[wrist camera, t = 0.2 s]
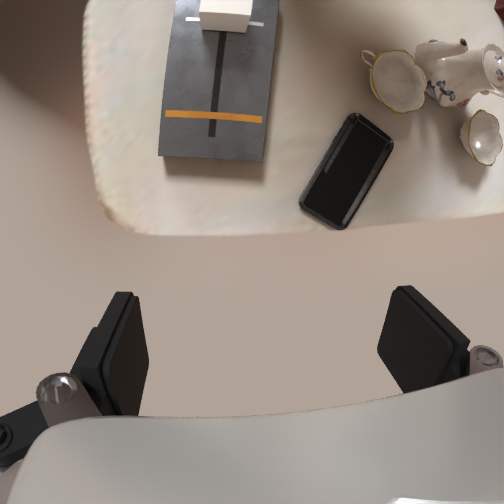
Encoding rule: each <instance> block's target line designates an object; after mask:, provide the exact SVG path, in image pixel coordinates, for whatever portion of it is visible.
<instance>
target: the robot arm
mask: <svg viewBox="0 0 504 504" xmlns="http://www.w3.org/2000/svg"><path fill="white" fill-rule="evenodd" d="M469 343H470V340H469V339H468V338H467V337H466V336H465V335H464V334H463V333H462V332H461V331H460V330H459V329H458V328H457V327H456V326H455V325H454V324H453V323H452V322H451V321H450V320H449V319H447V318H446V317H445V316H444V315H443V314H442V313H441V312H440V311H439V310H438V309H437V308H436V307H435V306H434V305H432V303H430V302H429V301H428V300H427V299H426V298H425V297H424V296H423V295H422V294H421V293H420V292H418V291H417V290H416V289H415V288H414V287H413V286H411V285H408V286H398V287H397V288H396V289H395V290H394V291H393V292H392V296H391V299H390V303H389V307H388V311H387V314H386V318H385V322H384V325H383V329H382V332H381V336H380V339H379V343H378V346H377V351H378V354H379V356H380V358H381V359H382V361H383V362H384V364H385V365H386V367H387V368H388V370H389V371H390V373H391V374H392V376H393V378H394V379H395V380H396V382H397V384H398V385H399V387H400V388H401V390H402V391H403V393H404V394H399V395H395V396H390V397H386V398H381V399H376V400H371V401H366V402H360V403H355V404H349V405H343V406H337V407H330V408H323V409H315V410H307V411H299V412H290V413H279V414H268V415H253V416H234V417H153V416H138V414H139V409H140V404H141V399H142V394H143V390H144V385H145V380H146V376H147V371H148V366H149V357H148V352H147V346H146V340H145V334H144V329H143V322H142V316H141V310H140V303H139V298H138V296H134V295H133V293H132V292H116V293H115V295H114V296H113V299H112V300H111V302H110V304H109V306H108V308H107V310H106V311H105V313H104V315H103V317H102V319H101V321H100V323H99V325H98V327H94V328H93V329H92V330H91V332H90V334H89V335H88V337H87V339H86V341H85V343H84V345H83V347H82V349H81V351H80V353H79V355H78V357H77V359H76V361H75V363H74V365H73V367H72V369H71V371H70V373H56V374H51V375H49V376H48V377H46V378H44V379H43V380H42V381H41V382H40V383H39V385H38V386H37V389H36V397H37V401H35V402H33V403H31V404H29V405H26V406H24V407H22V408H20V409H17V410H15V411H13V412H11V413H8V414H6V415H4V416H2V417H0V504H504V367H503V360H502V358H501V356H500V355H499V354H498V353H497V352H496V351H495V350H494V349H492V348H490V347H487V346H483V345H477V346H474V347H473V348H472V349H471V350H470V352H469V351H468V350H467V348H468V346H469Z"/></svg>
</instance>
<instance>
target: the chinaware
mask: <svg viewBox="0 0 504 504" xmlns="http://www.w3.org/2000/svg"><path fill="white" fill-rule="evenodd" d="M363 53H367V54H370V55H372V56H373V58H372V59H373V60H374V59H375V60H374V63H373V65H372V64H371V63H370V62H368V61H367V60H366V59H365V57H364V56H363ZM360 56H361V58H362V60H363V61H364V62H365V63H367V64H368V65H369V66H371V69H369V72H370V85H371V89H372V91H373V93H374V94H375V96H376V97H377V98H378V99H379V100H380V101H381V102H382V103H384V104H385V105H386V106H387V107H388V108H389V109H390V110H392V111H393V112H394V113H396V114H404V113H407V112H408V111H409V112H412V111H417V110H419V109H421V108H422V107H423V105H424V102H425V94H424V93H423V92H426V93H427V94H428V95H429V96H430V97H432V98H433V99H435V100H437V101H438V103H439V104H440V105H442V106H444V107H449V106H458V107H464V106H466V105H467V104H468V103H469V101H470V100H471V98H472V97H473V96H474V95H475V94H477V93H479V92H480V93H481V94H483V95H488V94H489V92H491V93H493V94H495V95H497V96H500V97H504V52H503V51H502V50H501V48H500V47H499V46H496V45H495V44H487V45H486V46H485V47H484V48H482V49H479V50H468V45H467V42H466V41H465V40H464V39H460V43H459V44H454V43H452V42H441V41H437V40H430V41H429V42H428V43H423V44H419V45H418V46H417V47H416V52H415V61H416V64H415V61H414V59H413V58H412V56H411V55H410V54H408V53H407V52H406V51H403V50H402V51H401V50H394V51H390V52H389V51H386V52H382V53H379V54H377V55H375V54H374V53H373V52H371V51H369V50H363V51H362V52H361V53H360ZM498 132H499V123H498V120H497V118H496V117H495V116H493V115H492V114H489V113H487V112H486V111H485V110H481V109H480V110H478V111H477V112H476V113H475V114H474V116H471V117H469V118H468V119H467V120H466V121H465V122H464V124H463V126H462V127H460V134H459V138H460V139H461V141H462V143H463V146H464V147H465V149H466V150H467V152H468V153H469V154H470V155H472V157H473V158H474V160H476V161H477V162H479V163H482V164H484V165H487V166H492V165H493V163H494V162H495V159H496V156H497V155H498V154H499V153H500V152H501V149H502V146H503V144H502V138H501V136H500V133H498Z"/></svg>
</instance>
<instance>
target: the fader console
mask: <svg viewBox="0 0 504 504" xmlns="http://www.w3.org/2000/svg"><path fill="white" fill-rule="evenodd" d="M200 2H201V0H177V2H176V7H175V12H174V18H173V24H172V30H171V37H170V43H169V50H168V57H167V65H166V73H165V81H164V90H163V99H162V110H161V121H160V134H159V148H158V156H172V157H195V158H212V159H227V160H240V161H252V162H262V157H263V147H264V138H265V129H266V119H267V110H268V100H269V91H270V82H271V72H272V63H273V54H274V44H275V35H276V25H277V16H278V7H279V0H253V2H252V10H251V16H250V20H249V23H248V26H247V29H246V32H245V33H242V32H231V31H218V30H201V23H200V16H199V8H200Z"/></svg>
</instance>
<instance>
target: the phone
mask: <svg viewBox="0 0 504 504" xmlns="http://www.w3.org/2000/svg"><path fill="white" fill-rule="evenodd" d="M393 147H394V143H393V140H392V139H391V138H390V137H389V136H388V135H386V134H385V133H384V132H383V131H381V130H380V129H379V128H378V127H376V126H375V125H374V124H372V123H371V122H370V121H369V120H367V119H366V118H365V117H363V116H362V115H360V114H359V113H353V114H350V115H349V116H348V117H347V119H346V121H345V122H344V124H343V126H342V128H340V130H339V132H338V134H337V136H336V137H335V138H334V140H333V143H332V144H331V146H330V148H329V149H328V151H327V153H326V154H325V156H324V158H323V160H322V161H321V163H320V165H319V166H318V168H317V170H316V171H315V173H314V175H313V176H312V178H311V180H310V181H309V183H308V185H307V186H306V188H305V190H304V191H303V193H302V195H301V196H300V198H299V205H300V207H301V208H302V209H303V210H305V211H307V212H308V213H310V214H312V215H313V216H315V217H317V218H318V219H320V220H322V221H324V222H325V223H327V224H329V225H330V226H332V227H334V228H335V229H337V230H343V229H345V228H346V227H347V226H348V224H349V222H350V221H351V219H352V218H353V216H354V214H355V213H356V211H357V209H358V208H359V206H360V205H361V203H362V201H363V200H364V198H365V196H366V195H367V193H368V191H369V190H370V188H371V186H372V185H373V183H374V181H375V179H376V178H377V176H378V174H379V173H380V171H381V169H382V167H383V166H384V164H385V162H386V160H387V159H388V157H389V155H390V153H391V152H392V150H393Z"/></svg>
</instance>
